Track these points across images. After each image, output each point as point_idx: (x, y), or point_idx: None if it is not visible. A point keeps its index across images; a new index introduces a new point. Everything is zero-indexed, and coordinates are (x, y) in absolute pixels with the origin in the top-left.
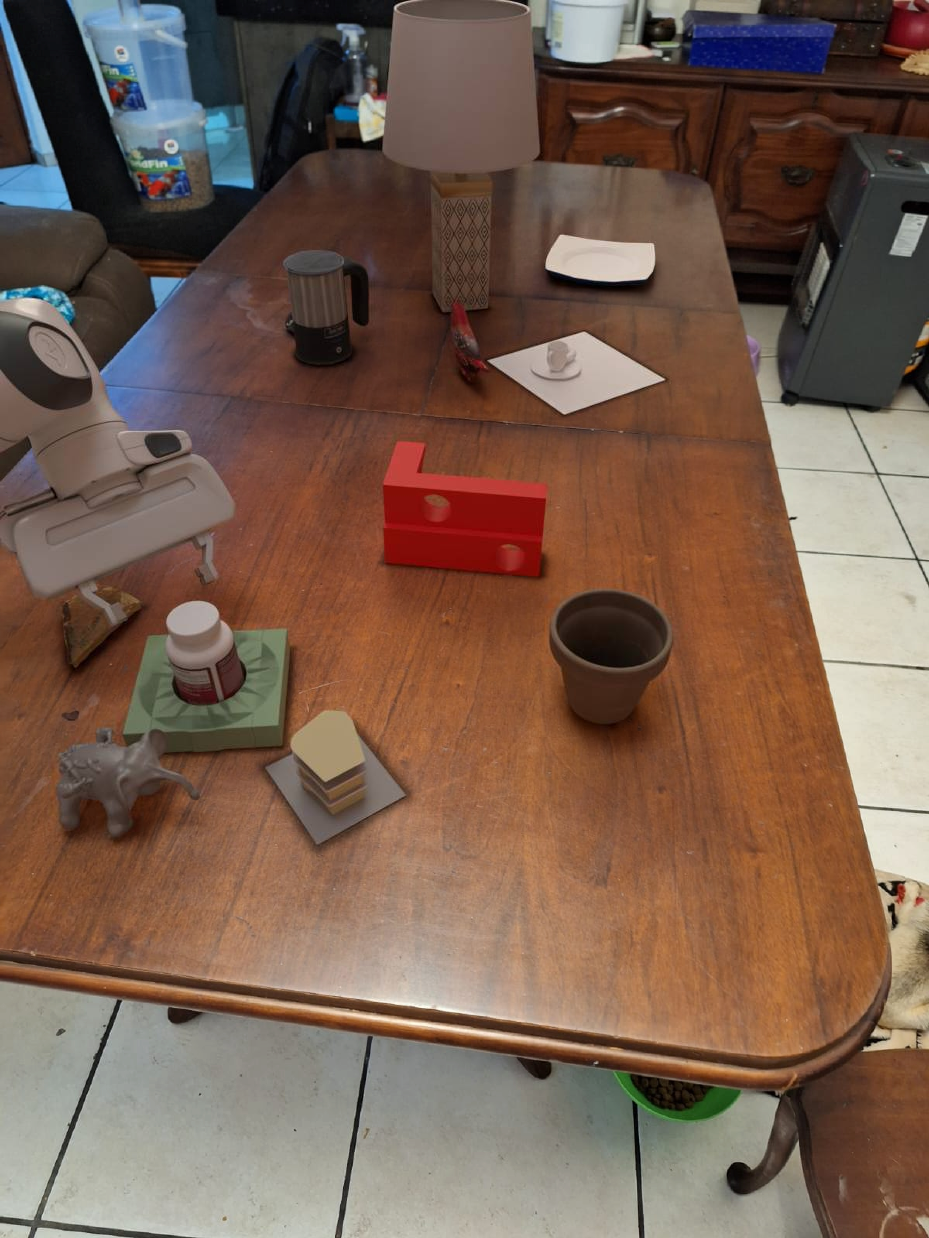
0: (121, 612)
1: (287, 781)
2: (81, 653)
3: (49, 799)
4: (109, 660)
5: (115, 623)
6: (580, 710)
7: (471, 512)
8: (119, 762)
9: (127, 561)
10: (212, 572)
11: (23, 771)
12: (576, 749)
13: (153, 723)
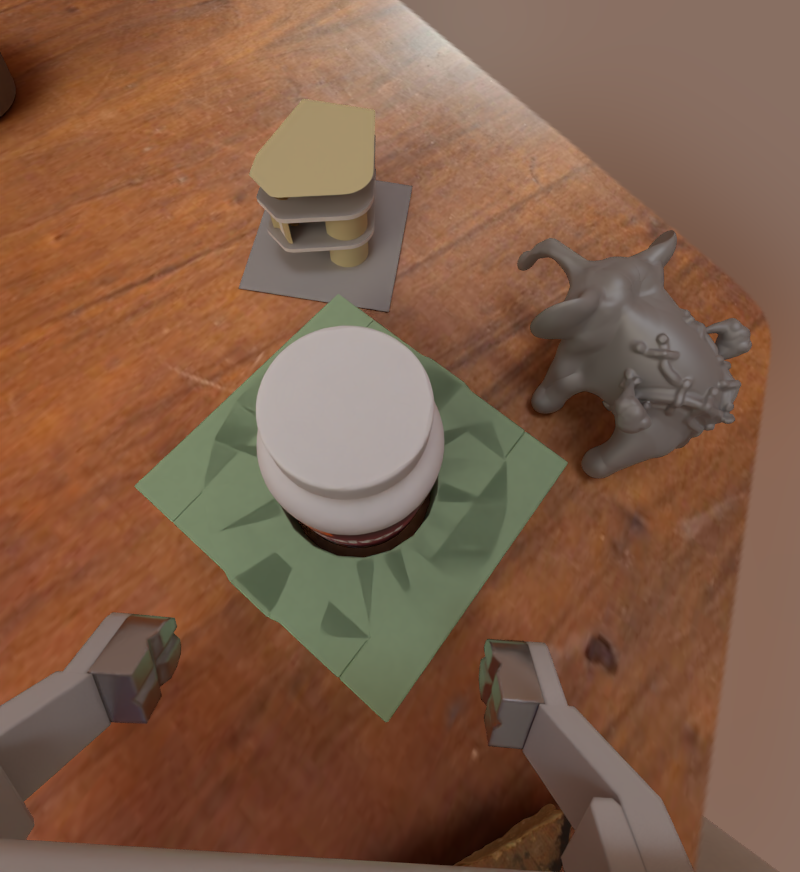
0: (505, 659)
1: (379, 274)
2: (533, 828)
3: (687, 486)
4: (472, 771)
5: (533, 642)
6: (3, 73)
7: None
8: (653, 283)
9: (401, 869)
10: (113, 631)
11: (714, 578)
12: (72, 83)
13: (508, 445)
